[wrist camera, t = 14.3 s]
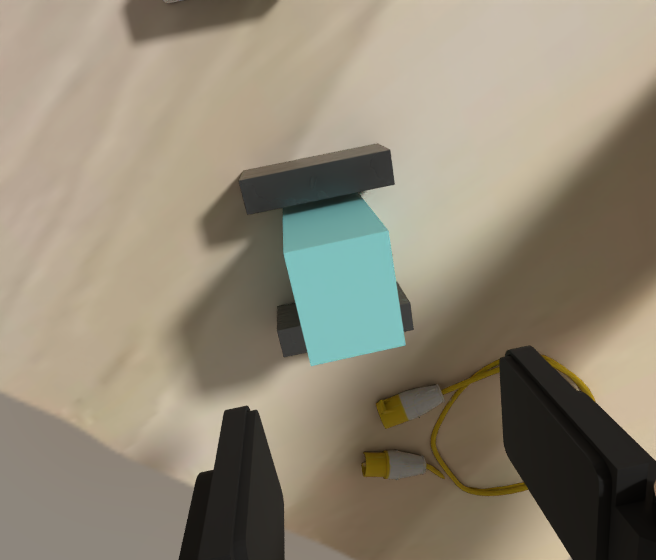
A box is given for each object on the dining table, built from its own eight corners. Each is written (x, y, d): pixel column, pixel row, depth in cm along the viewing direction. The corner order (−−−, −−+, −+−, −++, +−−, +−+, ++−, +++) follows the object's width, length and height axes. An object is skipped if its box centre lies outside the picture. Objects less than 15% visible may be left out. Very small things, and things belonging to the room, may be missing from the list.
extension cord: (425, 304, 28) (435, 318, 27) (622, 384, 32) (643, 402, 30) (339, 455, 32) (343, 477, 30) (525, 511, 36) (539, 534, 34)
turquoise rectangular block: (356, 190, 25) (388, 230, 18) (371, 276, 27) (405, 345, 19) (282, 206, 25) (283, 253, 17) (302, 291, 27) (310, 366, 19)
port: (377, 143, 24) (390, 149, 21) (400, 306, 28) (413, 329, 25) (243, 170, 24) (238, 180, 21) (283, 330, 28) (283, 357, 25)
